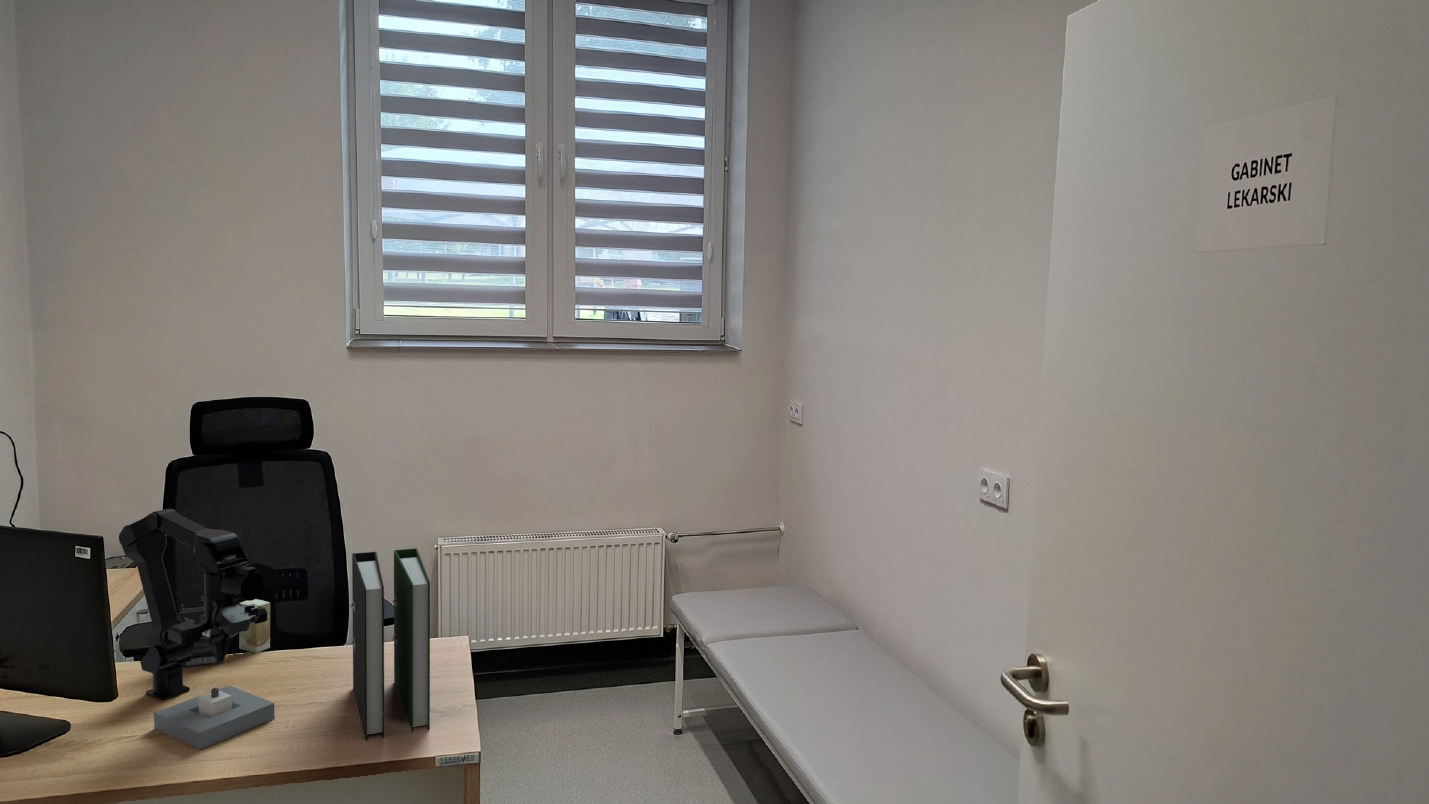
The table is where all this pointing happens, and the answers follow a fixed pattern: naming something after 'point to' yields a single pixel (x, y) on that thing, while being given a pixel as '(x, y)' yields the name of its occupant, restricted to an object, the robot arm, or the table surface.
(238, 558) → the robot arm
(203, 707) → the plug
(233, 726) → the socket
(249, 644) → the skincare box
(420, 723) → the books
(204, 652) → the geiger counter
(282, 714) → the table surface
